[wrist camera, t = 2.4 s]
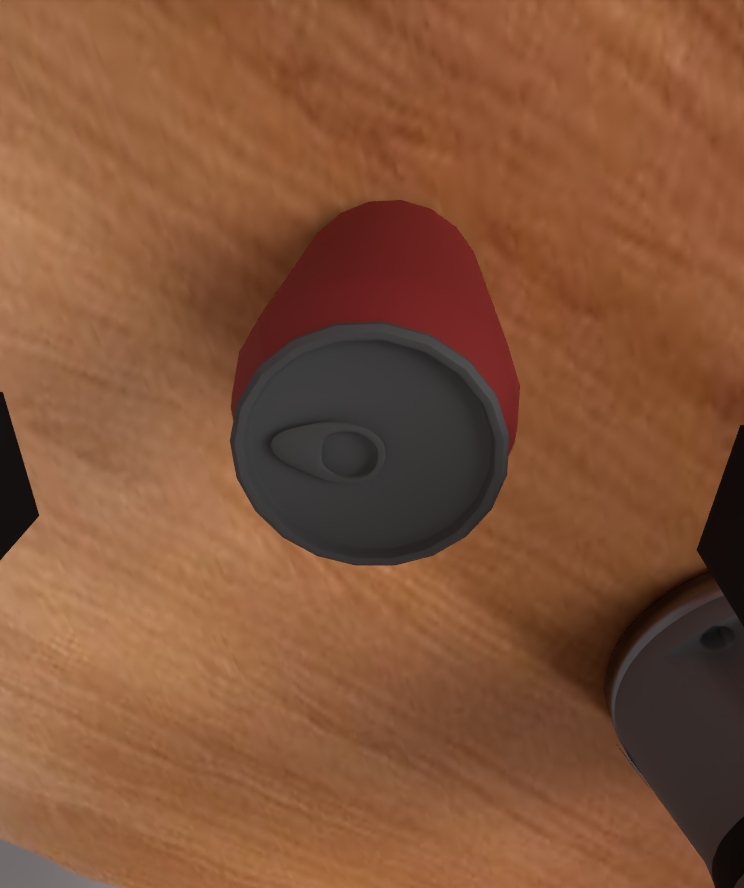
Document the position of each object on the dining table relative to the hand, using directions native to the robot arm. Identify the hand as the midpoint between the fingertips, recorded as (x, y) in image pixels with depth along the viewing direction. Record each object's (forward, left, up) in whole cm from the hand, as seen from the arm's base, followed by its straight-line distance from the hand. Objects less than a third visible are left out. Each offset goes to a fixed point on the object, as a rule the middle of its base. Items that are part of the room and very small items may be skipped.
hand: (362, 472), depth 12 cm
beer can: (0, 0, -13) cm, 13 cm away
